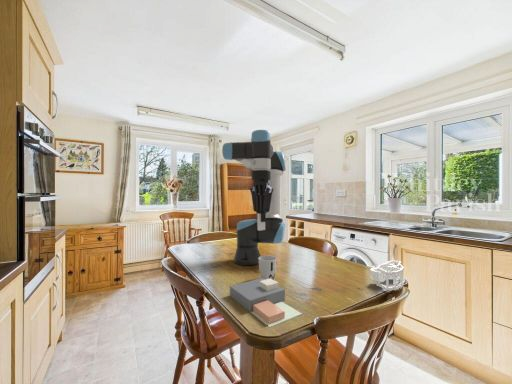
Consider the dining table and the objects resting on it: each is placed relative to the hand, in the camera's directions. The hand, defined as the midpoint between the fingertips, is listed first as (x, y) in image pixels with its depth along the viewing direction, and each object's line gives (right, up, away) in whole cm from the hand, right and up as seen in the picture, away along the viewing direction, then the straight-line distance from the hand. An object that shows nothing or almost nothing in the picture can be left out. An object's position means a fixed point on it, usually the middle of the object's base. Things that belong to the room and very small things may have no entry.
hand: (261, 229), depth 93 cm
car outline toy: (+56, -25, +10) cm, 62 cm away
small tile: (+3, -20, -5) cm, 21 cm away
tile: (+2, -24, -18) cm, 30 cm away
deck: (-2, -24, -6) cm, 25 cm away
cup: (+3, -25, +12) cm, 27 cm away
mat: (+4, -24, -17) cm, 30 cm away
